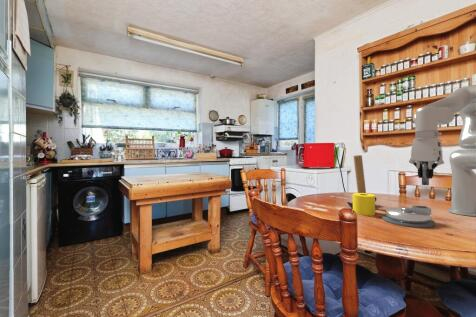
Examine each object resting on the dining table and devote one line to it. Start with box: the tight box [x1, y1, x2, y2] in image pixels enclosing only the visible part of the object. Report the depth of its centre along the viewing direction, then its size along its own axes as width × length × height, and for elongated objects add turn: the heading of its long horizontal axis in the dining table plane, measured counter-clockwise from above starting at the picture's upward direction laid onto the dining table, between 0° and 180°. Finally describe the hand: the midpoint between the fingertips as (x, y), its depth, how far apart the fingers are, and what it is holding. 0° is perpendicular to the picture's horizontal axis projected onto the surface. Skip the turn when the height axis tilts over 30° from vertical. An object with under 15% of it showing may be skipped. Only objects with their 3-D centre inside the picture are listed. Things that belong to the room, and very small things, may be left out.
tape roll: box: [352, 192, 376, 217], centre depth 118 cm, size 10×10×9 cm
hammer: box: [346, 154, 377, 209], centre depth 130 cm, size 20×5×30 cm, turn 120°
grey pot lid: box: [385, 204, 432, 224], centre depth 104 cm, size 16×16×6 cm
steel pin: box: [421, 162, 430, 186], centre depth 101 cm, size 2×2×12 cm
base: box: [381, 213, 436, 229], centre depth 104 cm, size 19×19×1 cm
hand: (425, 177), depth 101 cm, fingers closed on steel pin, 2 cm apart
